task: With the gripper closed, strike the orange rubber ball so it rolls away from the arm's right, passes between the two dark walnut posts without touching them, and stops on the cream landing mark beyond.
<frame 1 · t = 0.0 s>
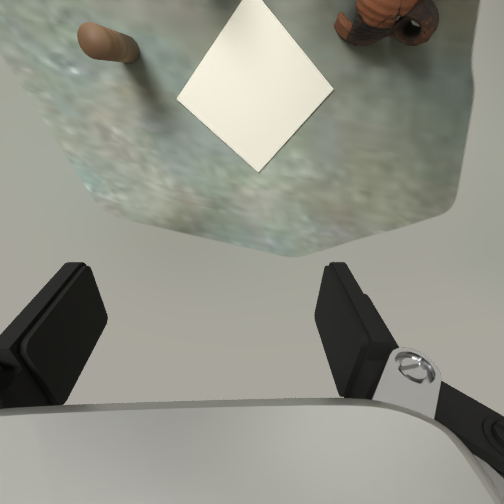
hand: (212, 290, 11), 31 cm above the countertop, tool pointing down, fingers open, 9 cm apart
landing mark: (255, 94, 35), on the countertop
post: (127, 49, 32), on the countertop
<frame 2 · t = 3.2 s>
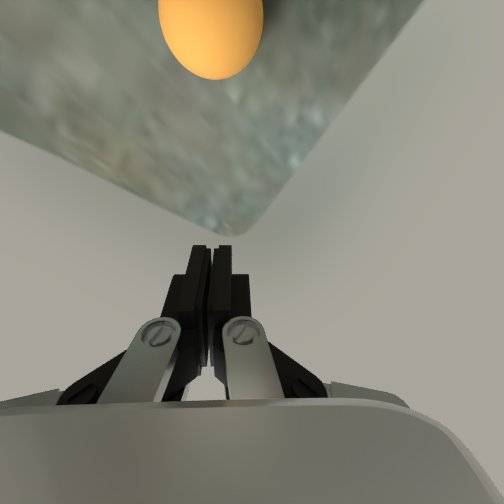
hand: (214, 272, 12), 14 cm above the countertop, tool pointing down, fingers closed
ball: (212, 19, 16), on the countertop
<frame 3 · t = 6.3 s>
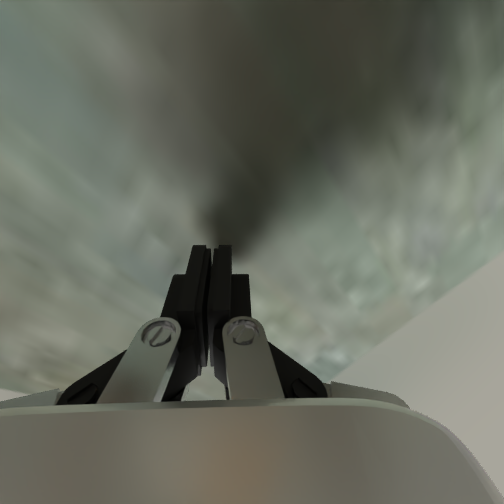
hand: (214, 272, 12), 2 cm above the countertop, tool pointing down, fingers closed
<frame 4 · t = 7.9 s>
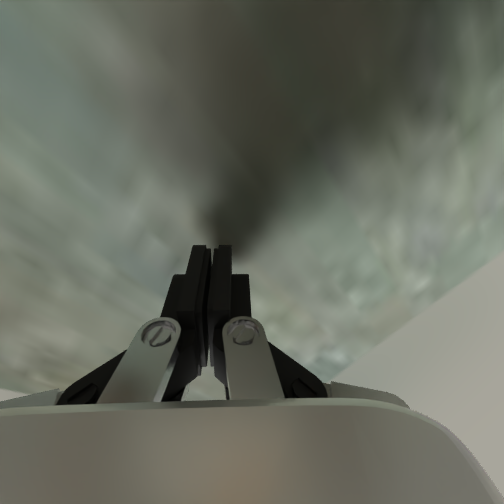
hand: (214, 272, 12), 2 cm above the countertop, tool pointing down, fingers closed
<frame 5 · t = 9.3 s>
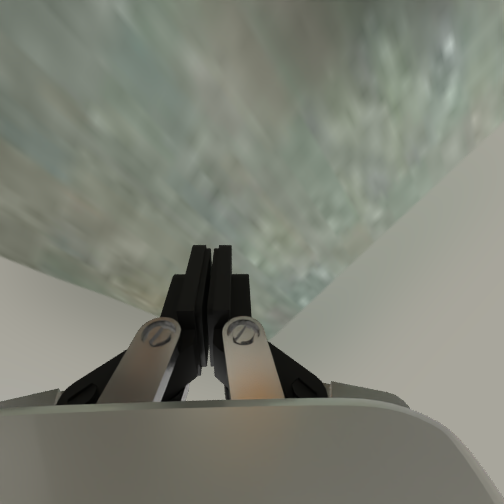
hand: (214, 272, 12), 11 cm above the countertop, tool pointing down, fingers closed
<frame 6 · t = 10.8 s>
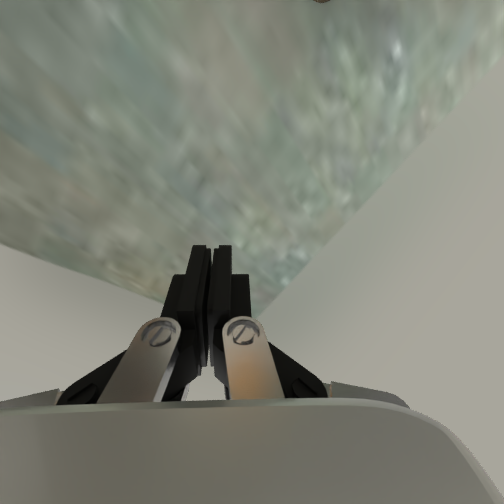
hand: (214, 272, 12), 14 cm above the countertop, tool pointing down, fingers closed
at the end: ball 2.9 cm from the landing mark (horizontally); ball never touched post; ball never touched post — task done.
